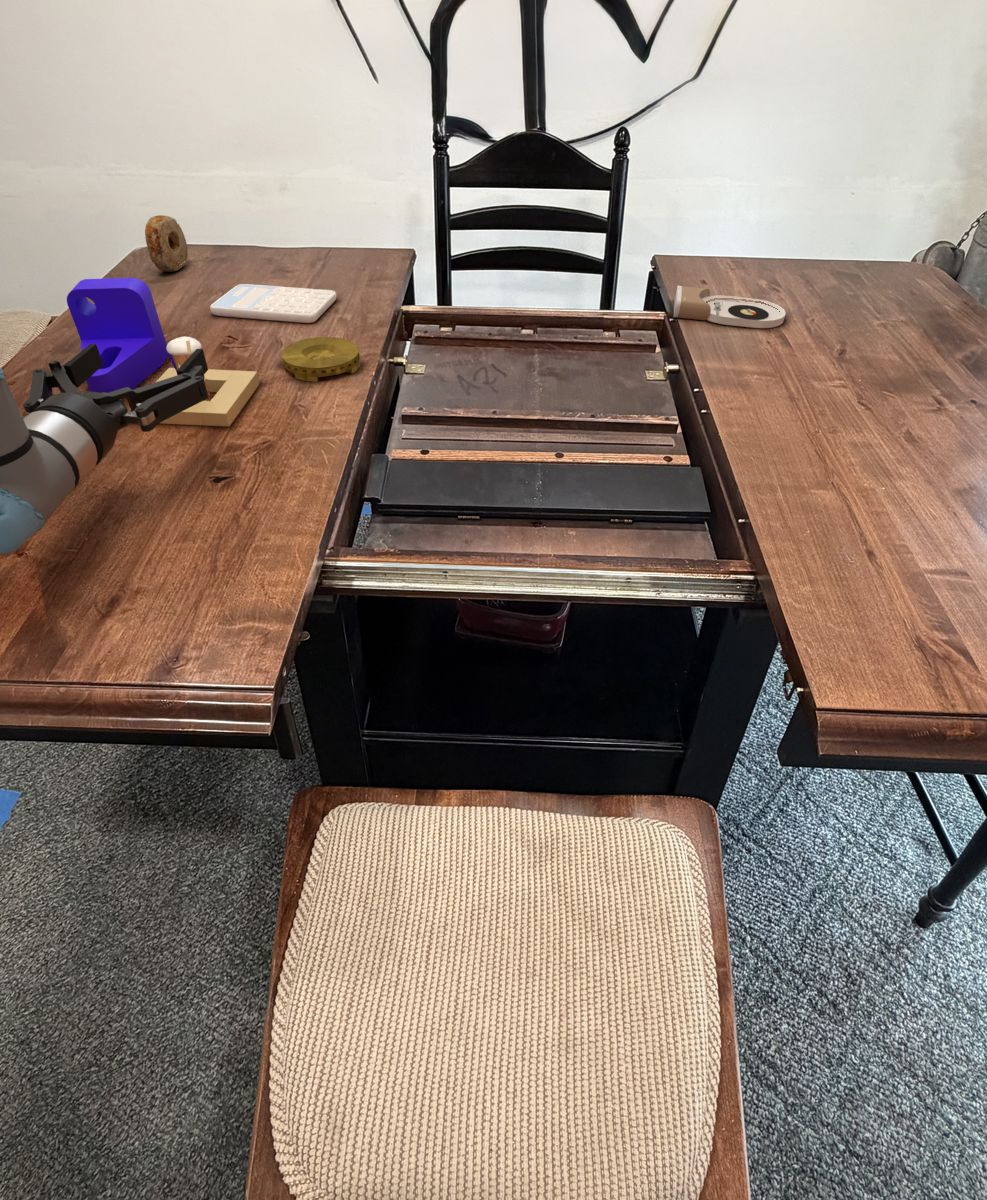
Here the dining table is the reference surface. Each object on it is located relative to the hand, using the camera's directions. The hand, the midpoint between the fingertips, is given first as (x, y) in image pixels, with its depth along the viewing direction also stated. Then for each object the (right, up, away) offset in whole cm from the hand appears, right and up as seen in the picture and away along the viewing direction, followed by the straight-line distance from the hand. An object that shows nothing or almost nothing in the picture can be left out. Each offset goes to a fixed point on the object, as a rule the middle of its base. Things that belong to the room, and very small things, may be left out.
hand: (149, 356), depth 89 cm
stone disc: (-23, +38, +58) cm, 73 cm away
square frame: (0, -2, +14) cm, 14 cm away
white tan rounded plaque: (+87, +23, +43) cm, 100 cm away
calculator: (+3, +24, +43) cm, 49 cm away
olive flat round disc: (+16, +7, +24) cm, 30 cm away
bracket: (-14, +3, +20) cm, 24 cm away
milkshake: (+1, -2, +14) cm, 14 cm away
